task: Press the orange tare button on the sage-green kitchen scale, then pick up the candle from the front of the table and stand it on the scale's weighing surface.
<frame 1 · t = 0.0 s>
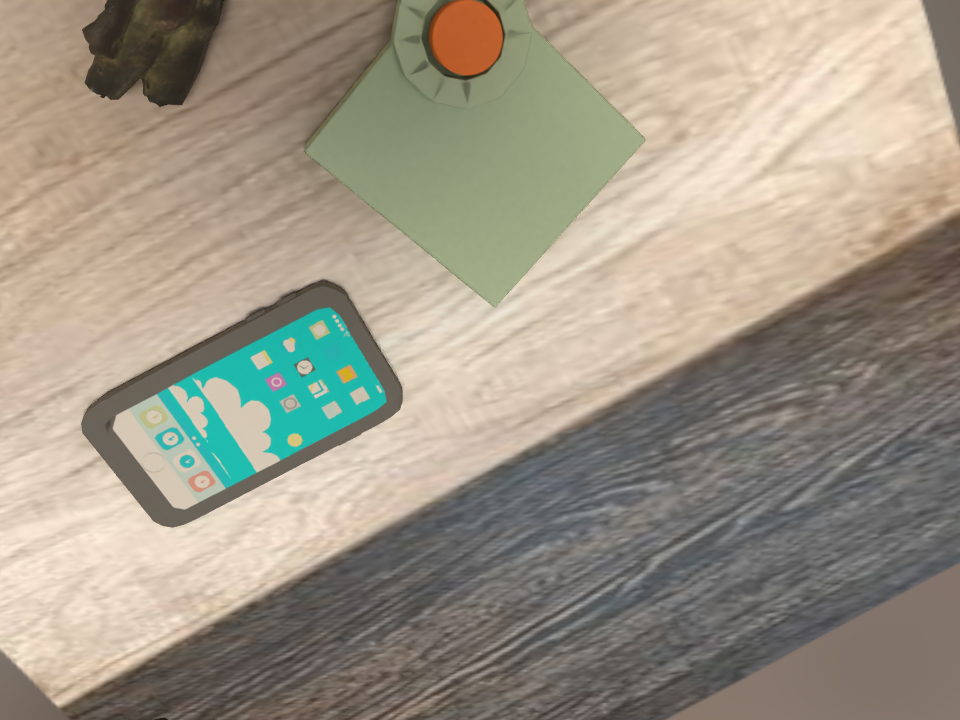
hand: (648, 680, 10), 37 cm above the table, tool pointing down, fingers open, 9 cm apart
scale: (473, 139, 44), on the table
smartphone: (247, 403, 48), on the table
tare button: (465, 37, 39), point 4 cm above the table, slide at 0.1 cm
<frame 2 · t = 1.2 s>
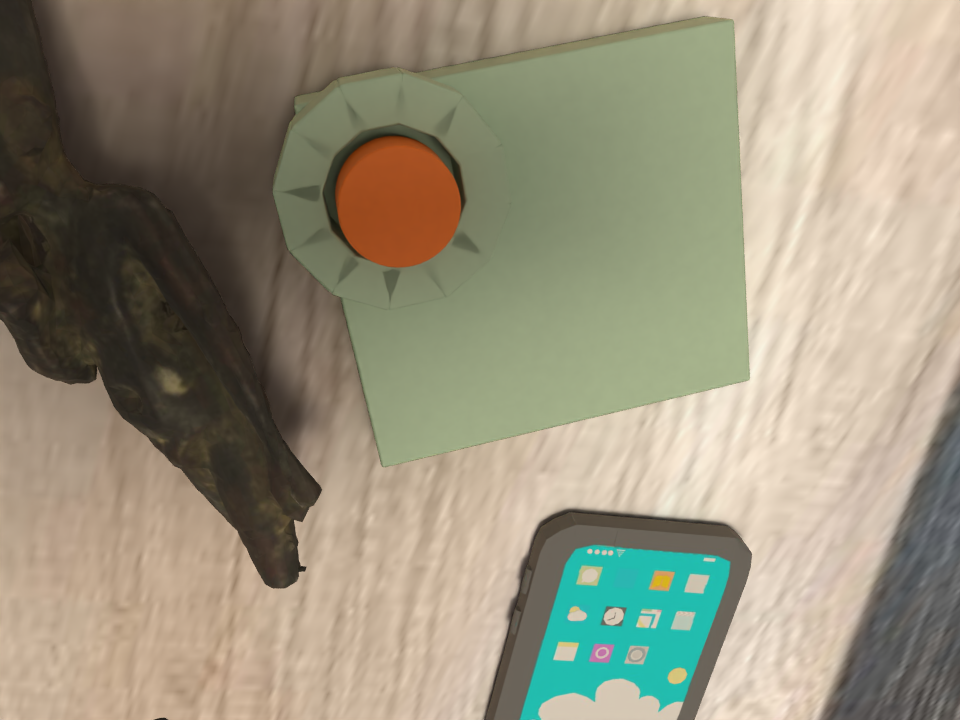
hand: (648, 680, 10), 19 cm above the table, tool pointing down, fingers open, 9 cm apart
scale: (531, 240, 28), on the table
statue: (14, 351, 22), point 4 cm above the table
smartphone: (595, 680, 35), on the table
tare button: (397, 201, 23), point 4 cm above the table, slide at 0.1 cm
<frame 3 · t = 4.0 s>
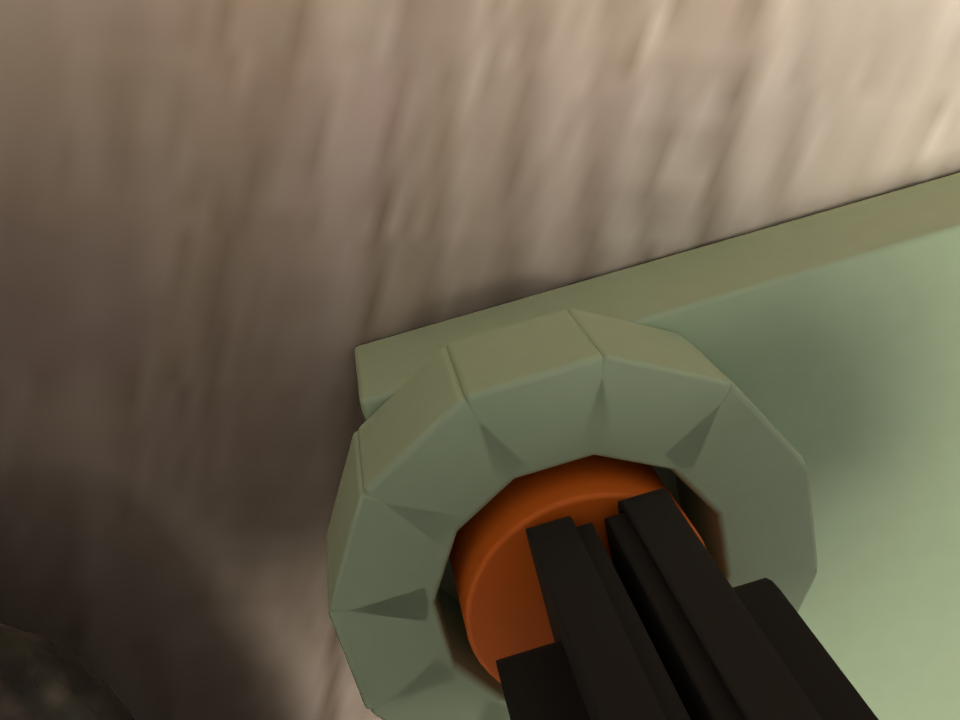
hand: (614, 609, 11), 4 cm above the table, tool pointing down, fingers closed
scale: (783, 532, 16), on the table
tare button: (574, 566, 11), point 3 cm above the table, slide at -0.8 cm, touching gripper
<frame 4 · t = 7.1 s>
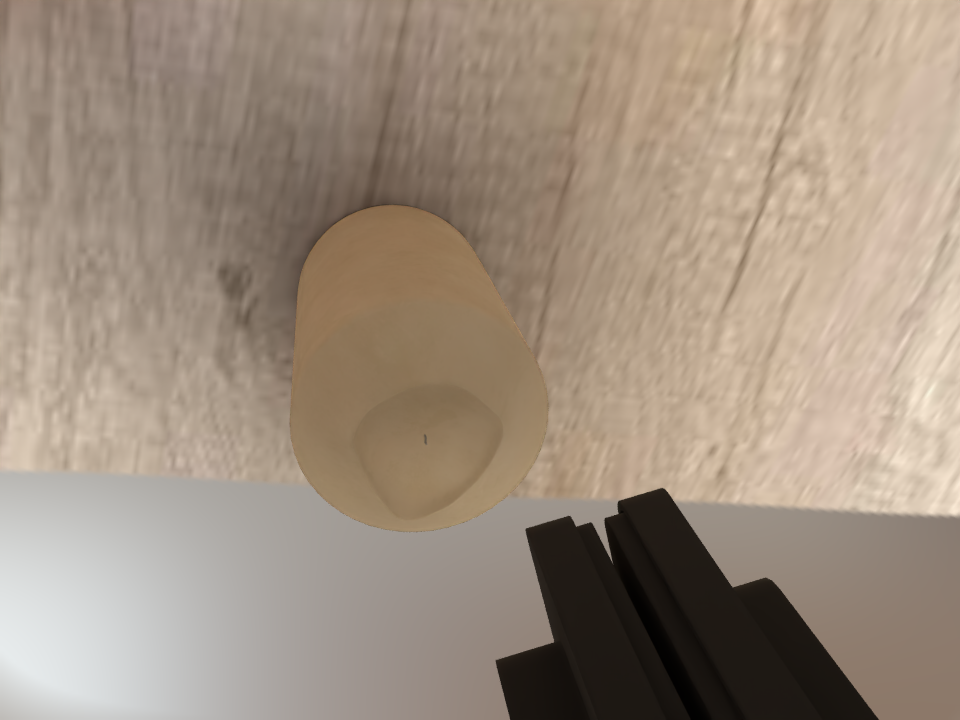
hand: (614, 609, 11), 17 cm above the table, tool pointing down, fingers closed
candle: (391, 291, 27), on the table
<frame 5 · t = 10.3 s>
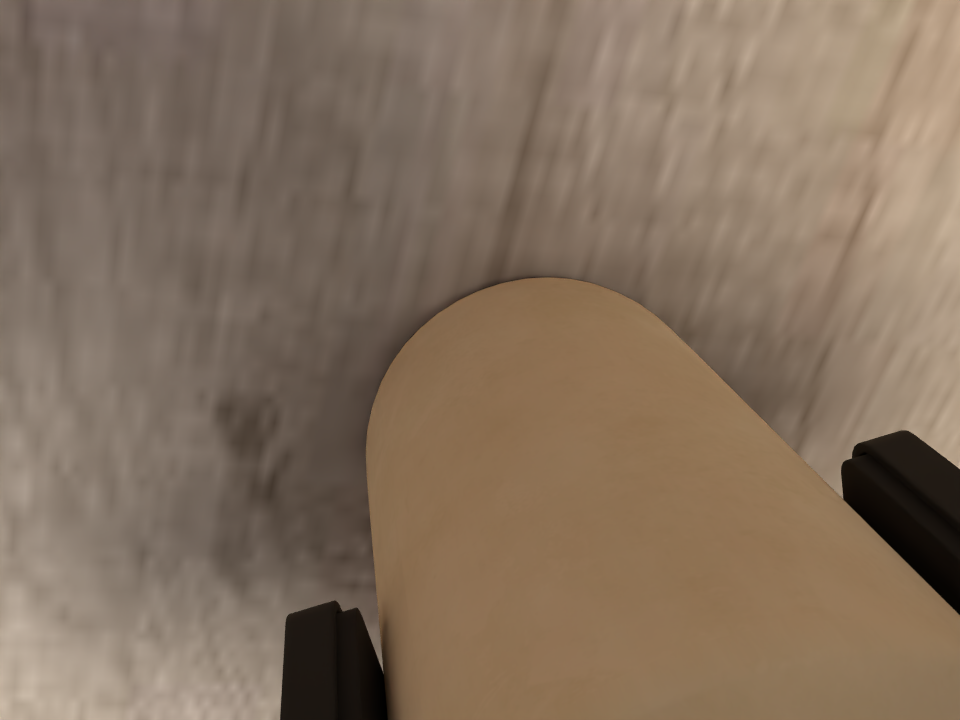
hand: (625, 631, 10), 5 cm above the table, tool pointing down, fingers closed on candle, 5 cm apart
candle: (531, 428, 15), on the table, touching gripper
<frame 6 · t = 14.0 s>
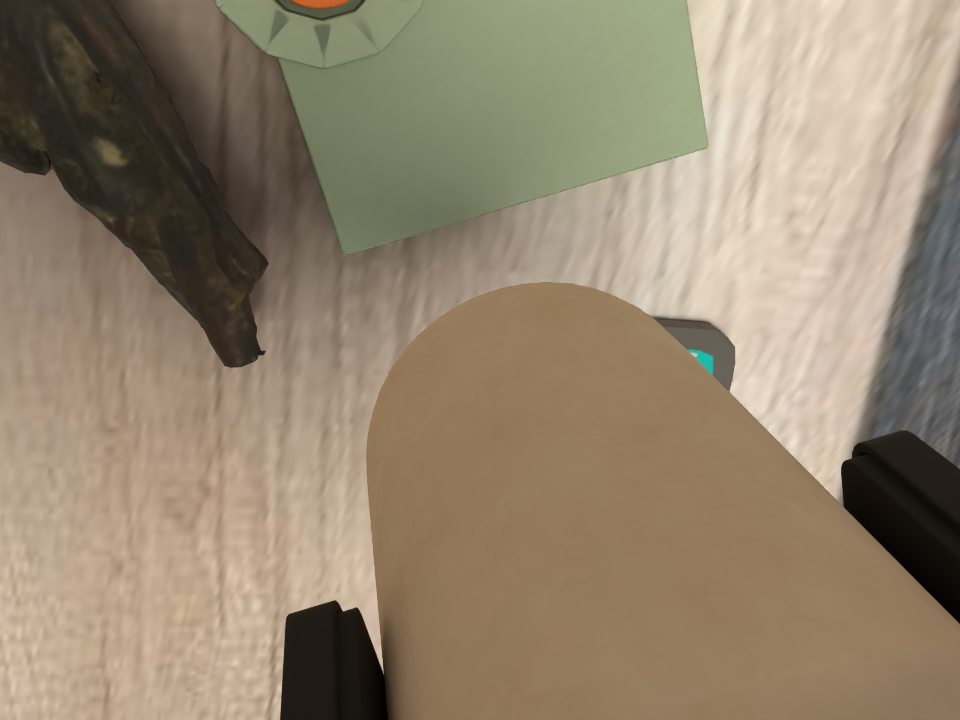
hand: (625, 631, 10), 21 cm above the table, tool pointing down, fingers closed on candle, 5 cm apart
scale: (475, 18, 28), on the table
candle: (531, 433, 15), point 16 cm above the table, touching gripper
smartphone: (591, 496, 35), on the table
when the fingers open (7 cm above the table, at t = 18.2 s): candle stays where it is, resting on scale.
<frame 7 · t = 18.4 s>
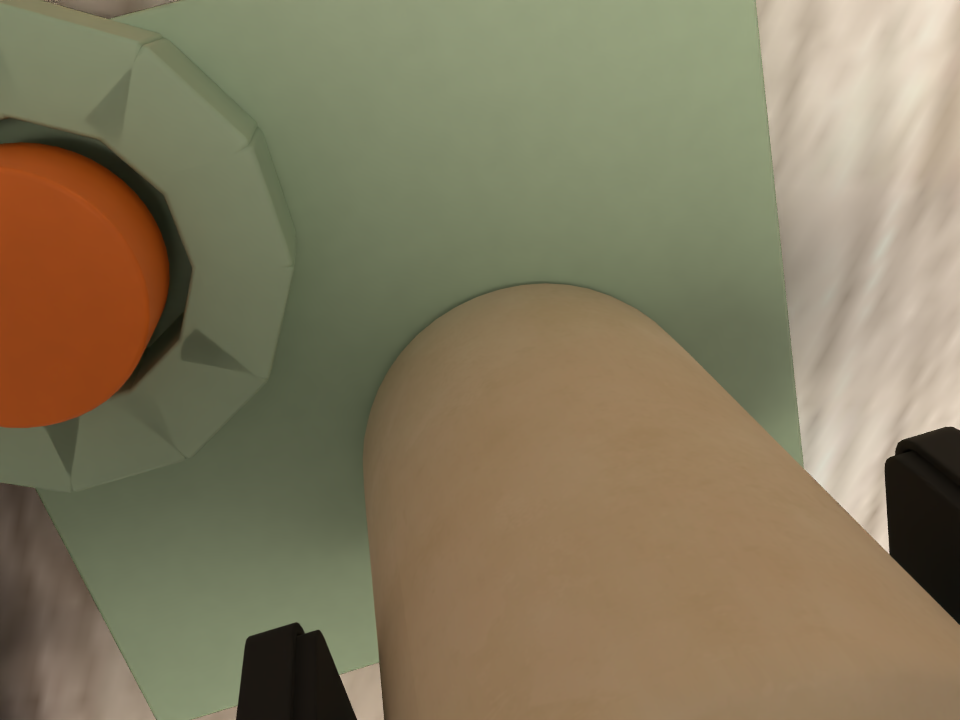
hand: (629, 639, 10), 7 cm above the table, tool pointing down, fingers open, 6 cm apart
scale: (400, 312, 15), on the table
candle: (529, 435, 15), point 2 cm above the table, touching scale
tare button: (24, 283, 10), point 4 cm above the table, slide at 0.1 cm
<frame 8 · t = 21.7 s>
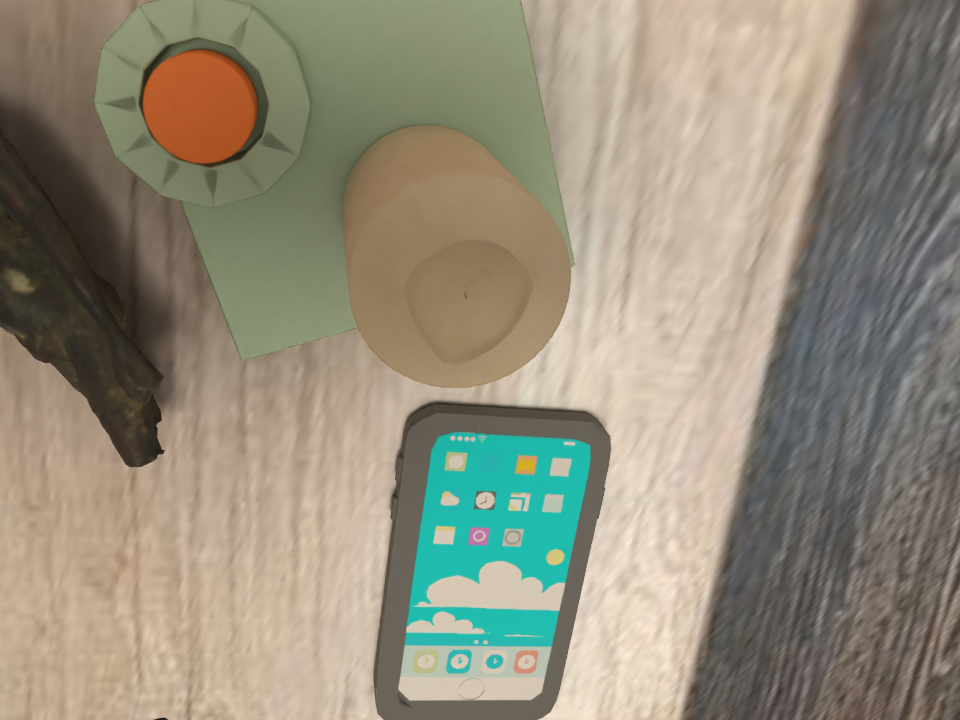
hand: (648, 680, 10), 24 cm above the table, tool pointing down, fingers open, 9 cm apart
scale: (362, 149, 31), on the table
candle: (425, 206, 30), point 2 cm above the table, touching scale
smartphone: (484, 566, 38), on the table
tare button: (202, 106, 26), point 4 cm above the table, slide at 0.1 cm
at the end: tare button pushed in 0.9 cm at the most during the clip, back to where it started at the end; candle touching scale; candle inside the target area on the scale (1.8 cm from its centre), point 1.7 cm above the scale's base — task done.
